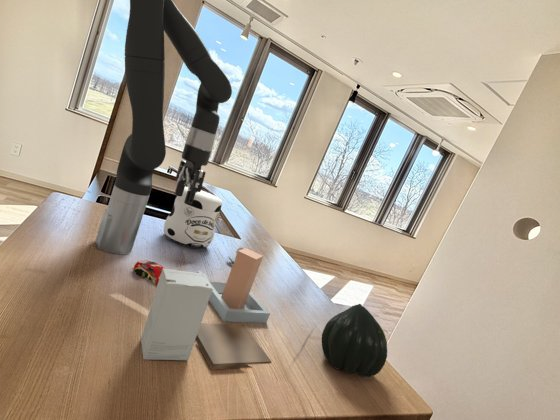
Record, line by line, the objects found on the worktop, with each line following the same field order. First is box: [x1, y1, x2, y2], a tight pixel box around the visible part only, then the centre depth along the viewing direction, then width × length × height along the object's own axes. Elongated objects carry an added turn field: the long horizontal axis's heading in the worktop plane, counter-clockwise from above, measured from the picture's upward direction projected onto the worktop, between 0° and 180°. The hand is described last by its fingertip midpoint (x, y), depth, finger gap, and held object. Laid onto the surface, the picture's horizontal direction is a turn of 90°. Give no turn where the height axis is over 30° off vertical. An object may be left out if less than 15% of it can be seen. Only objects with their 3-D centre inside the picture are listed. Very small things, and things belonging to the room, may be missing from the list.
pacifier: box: [227, 247, 244, 267], centre depth 124 cm, size 7×6×6 cm
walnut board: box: [195, 322, 272, 371], centre depth 74 cm, size 13×13×1 cm
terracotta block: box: [221, 247, 264, 309], centre depth 91 cm, size 5×5×14 cm
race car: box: [133, 259, 166, 286], centre depth 91 cm, size 13×5×4 cm, turn 57°
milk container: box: [163, 186, 223, 249], centre depth 127 cm, size 17×17×18 cm
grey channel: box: [196, 270, 271, 324], centre depth 93 cm, size 12×20×4 cm, turn 33°
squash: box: [321, 303, 388, 378], centre depth 85 cm, size 14×15×15 cm
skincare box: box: [140, 267, 213, 361], centre depth 64 cm, size 8×6×15 cm
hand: (182, 199), depth 106 cm, fingers open, 8 cm apart
